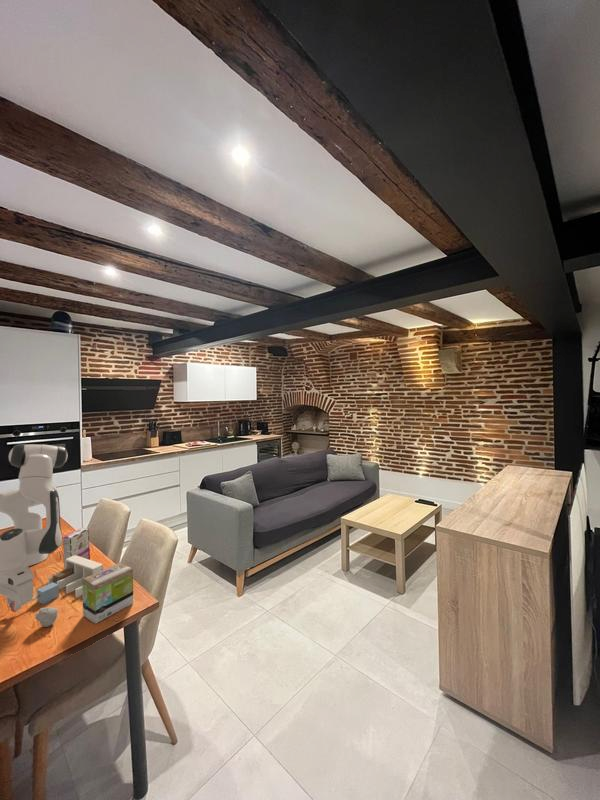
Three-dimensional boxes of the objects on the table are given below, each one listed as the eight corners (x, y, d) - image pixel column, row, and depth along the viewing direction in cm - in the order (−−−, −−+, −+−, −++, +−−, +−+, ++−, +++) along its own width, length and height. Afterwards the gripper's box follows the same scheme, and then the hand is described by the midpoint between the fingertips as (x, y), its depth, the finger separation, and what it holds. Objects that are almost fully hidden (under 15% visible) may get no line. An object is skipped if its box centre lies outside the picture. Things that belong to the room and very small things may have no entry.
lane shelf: (48, 585, 153) (47, 566, 153) (75, 573, 163) (75, 555, 163) (76, 597, 143) (75, 577, 143) (103, 583, 154) (103, 564, 154)
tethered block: (8, 615, 133) (7, 602, 133) (53, 593, 147) (52, 582, 147) (14, 618, 131) (13, 606, 131) (59, 596, 145) (58, 584, 145)
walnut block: (53, 585, 153) (52, 575, 153) (67, 579, 158) (66, 568, 158) (58, 588, 151) (58, 577, 151) (72, 581, 156) (72, 570, 156)
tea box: (96, 625, 126) (94, 585, 126) (82, 616, 131) (81, 578, 131) (134, 603, 139) (133, 567, 138) (120, 595, 144) (119, 561, 144)
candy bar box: (82, 558, 178) (81, 527, 177) (90, 559, 177) (89, 528, 176) (63, 570, 167) (62, 536, 166) (71, 570, 166) (70, 537, 165)
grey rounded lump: (33, 627, 126) (33, 608, 126) (56, 617, 131) (55, 599, 131) (37, 634, 122) (36, 615, 121) (61, 624, 127) (60, 606, 127)
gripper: (-11, 571, 134) (-9, 605, 135) (16, 583, 125) (18, 620, 125) (9, 563, 140) (10, 596, 140) (36, 574, 131) (37, 610, 131)
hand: (14, 608), depth 133 cm, fingers closed on tethered block, 3 cm apart
